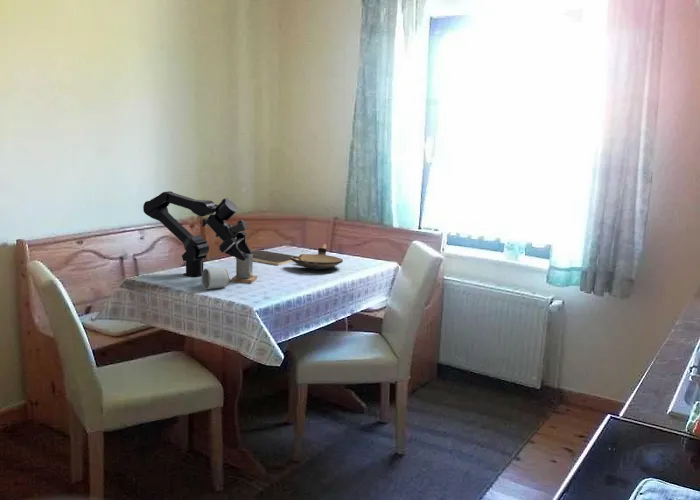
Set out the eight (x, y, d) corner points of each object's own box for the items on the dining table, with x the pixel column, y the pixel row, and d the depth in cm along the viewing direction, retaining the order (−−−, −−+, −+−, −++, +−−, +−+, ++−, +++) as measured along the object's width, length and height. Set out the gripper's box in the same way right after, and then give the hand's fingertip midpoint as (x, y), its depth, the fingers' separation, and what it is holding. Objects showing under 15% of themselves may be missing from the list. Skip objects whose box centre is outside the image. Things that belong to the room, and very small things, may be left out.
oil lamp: (278, 269, 283) (278, 251, 281) (316, 259, 309) (316, 242, 307) (323, 277, 272) (324, 258, 271) (359, 265, 298) (359, 248, 297)
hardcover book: (278, 266, 291) (278, 261, 290) (237, 259, 302) (237, 254, 302) (299, 261, 304) (300, 256, 304) (260, 254, 316) (260, 249, 315)
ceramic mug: (230, 288, 247) (230, 268, 246) (209, 291, 242) (209, 270, 241) (217, 283, 255) (217, 263, 254) (197, 285, 250) (197, 265, 249)
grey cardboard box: (235, 278, 259) (235, 255, 257) (239, 275, 264) (239, 252, 262) (249, 279, 258) (249, 256, 256) (253, 276, 263) (253, 253, 261)
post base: (231, 281, 258) (231, 271, 257) (237, 277, 265) (237, 266, 265) (251, 283, 257) (251, 272, 256) (256, 278, 264) (257, 268, 264)
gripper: (227, 217, 248) (256, 248, 248) (242, 211, 266) (268, 240, 267) (206, 236, 250) (235, 267, 251) (222, 229, 268) (249, 258, 269)
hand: (248, 257), depth 259 cm, fingers open, 9 cm apart
